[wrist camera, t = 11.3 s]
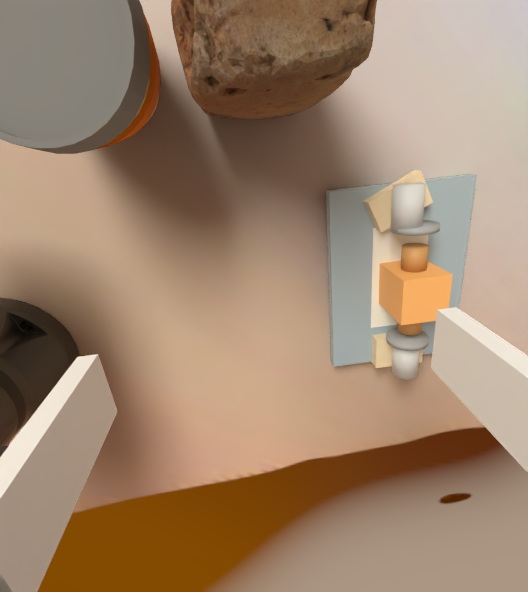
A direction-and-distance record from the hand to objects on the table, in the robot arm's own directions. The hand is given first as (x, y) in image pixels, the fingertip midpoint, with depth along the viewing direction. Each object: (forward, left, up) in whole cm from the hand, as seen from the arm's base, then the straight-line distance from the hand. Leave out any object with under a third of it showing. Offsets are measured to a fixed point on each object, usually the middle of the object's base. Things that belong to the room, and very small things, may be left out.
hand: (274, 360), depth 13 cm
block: (+2, +14, -27) cm, 30 cm away
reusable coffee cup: (-11, +15, -27) cm, 33 cm away
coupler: (+17, -8, -25) cm, 31 cm away
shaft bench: (+17, -8, -27) cm, 33 cm away
